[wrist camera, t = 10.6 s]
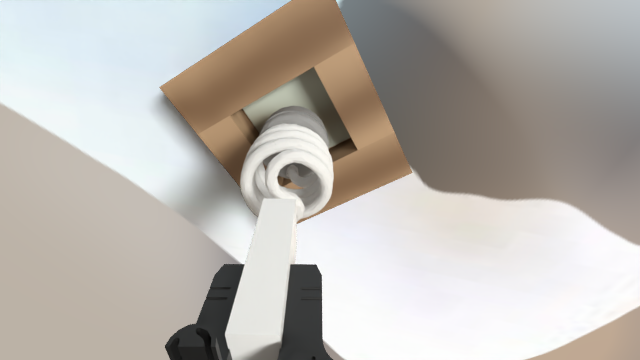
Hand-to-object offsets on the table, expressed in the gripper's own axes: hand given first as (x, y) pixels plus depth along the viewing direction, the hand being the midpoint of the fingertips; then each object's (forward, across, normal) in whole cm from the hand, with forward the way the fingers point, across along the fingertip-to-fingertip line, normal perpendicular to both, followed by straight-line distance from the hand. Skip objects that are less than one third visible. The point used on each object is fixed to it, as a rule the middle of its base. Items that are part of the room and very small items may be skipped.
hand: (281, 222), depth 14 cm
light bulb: (+14, 0, 0) cm, 14 cm away
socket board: (+15, 0, 0) cm, 15 cm away
